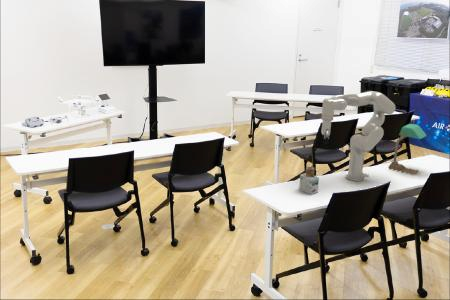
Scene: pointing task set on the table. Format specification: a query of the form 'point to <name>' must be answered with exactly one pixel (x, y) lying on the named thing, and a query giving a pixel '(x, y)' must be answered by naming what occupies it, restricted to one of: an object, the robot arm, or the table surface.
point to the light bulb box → (309, 184)
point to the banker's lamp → (406, 131)
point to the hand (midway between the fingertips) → (325, 142)
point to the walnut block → (309, 171)
